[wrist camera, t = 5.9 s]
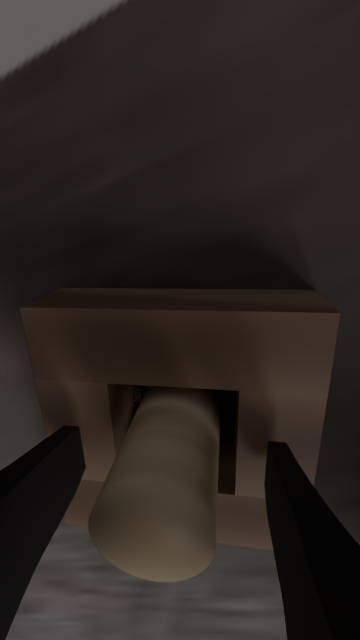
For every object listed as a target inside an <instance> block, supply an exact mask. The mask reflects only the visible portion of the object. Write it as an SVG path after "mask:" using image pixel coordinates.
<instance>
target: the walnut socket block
mask: <svg viewBox="0 0 360 640" xmlns="http://www.w3.org/2000/svg"><path fill="white" fill-rule="evenodd" d="M19 308H20V313H21V317H22V322H23V327H24V331H25V336H26V341H27V346H28V350H29V355H30V360H31V364H32V369H33V374H34V378H35V383H36V388H37V392H38V397H39V402H40V407H41V411H42V416H43V421H44V425H45V430H46V435H47V437H49V436H50V435H51V434H53V433H54V432H56V431H57V430H58V429H60V428H61V427H63V426H64V425H68V426H79V429H80V435H81V441H82V447H83V452H84V458H85V464H86V468H85V471H84V474H83V476H82V479H81V482H80V484H79V486H78V489H77V491H76V494H75V496H74V497H73V499H72V501H71V503H70V505H69V507H68V509H67V511H66V512H65V514H64V519H65V524H68V525H76V526H83V527H88V521H89V516H90V513H91V511H92V508H93V506H94V504H95V502H96V500H97V497H98V495H99V493H100V491H101V488H102V486H103V484H104V482H105V480H106V477H107V475H108V473H109V471H110V469H111V466H112V464H113V462H114V460H115V458H116V455H117V453H118V451H119V449H120V447H121V444H122V442H123V440H124V438H125V435H126V433H127V431H128V429H129V427H130V424H131V422H132V420H133V418H134V416H135V413H136V410H135V400H134V389H133V385H144V386H162V387H180V388H198V389H217V390H235V391H236V400H235V427H234V444H231V443H219V467H218V493H217V520H216V543H217V544H225V545H233V546H240V547H248V548H256V549H264V550H272V551H274V550H273V545H272V540H271V535H270V529H269V524H268V518H267V511H266V500H265V488H264V481H265V469H266V457H267V445H268V441H275V442H286V443H287V444H288V446H289V447H290V449H291V451H292V453H293V455H294V456H295V458H296V460H297V461H298V463H299V465H300V466H301V468H302V469H303V471H304V472H305V474H306V476H307V477H308V479H309V480H310V482H311V483H312V485H313V486H314V482H315V476H316V470H317V463H318V457H319V450H320V444H321V437H322V431H323V424H324V418H325V411H326V405H327V398H328V392H329V385H330V379H331V372H332V366H333V359H334V353H335V346H336V340H337V334H338V327H339V321H340V314H341V313H340V312H339V311H338V310H337V309H336V308H335V307H334V306H332V305H331V304H330V303H329V302H328V301H327V300H326V299H325V298H324V297H323V296H322V295H321V294H320V293H318V292H317V291H316V290H298V289H163V288H59V289H57V290H55V291H53V292H51V293H49V294H47V295H45V296H42V297H40V298H38V299H36V300H34V301H32V302H30V303H28V304H26V305H23V306H21V307H19Z"/></svg>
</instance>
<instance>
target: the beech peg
mask: <svg viewBox="0 0 360 640" xmlns="http://www.w3.org/2000/svg"><path fill="white" fill-rule="evenodd" d="M220 414H221V392H220V390H217V389H198V388H180V387H162V386H148V387H147V389H146V391H145V394H144V396H143V398H142V400H141V402H140V405H139V407H138V409H137V411H136V413H135V416H134V418H133V420H132V422H131V424H130V427H129V429H128V431H127V433H126V435H125V438H124V440H123V442H122V444H121V447H120V449H119V451H118V453H117V455H116V458H115V460H114V462H113V464H112V466H111V469H110V471H109V473H108V475H107V477H106V480H105V482H104V484H103V486H102V488H101V491H100V493H99V495H98V497H97V500H96V502H95V504H94V506H93V508H92V511H91V513H90V516H89V521H88V528H89V533H90V537H91V539H92V541H93V543H94V545H95V547H96V548H97V549H98V551H99V552H100V553H101V554H102V555H103V556H104V558H106V559H107V560H108V561H109V562H110V563H112V564H113V565H114V566H116V567H117V568H119V569H121V570H122V571H124V572H126V573H128V574H131V575H133V576H136V577H139V578H142V579H146V580H151V581H158V582H176V581H182V580H186V579H189V578H192V577H194V576H196V575H198V574H200V573H201V572H202V571H204V570H205V569H206V568H207V567H208V566H209V564H210V563H211V561H212V559H213V557H214V554H215V547H216V520H217V493H218V467H219V440H220Z"/></svg>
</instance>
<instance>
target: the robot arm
mask: <svg viewBox="0 0 360 640" xmlns="http://www.w3.org/2000/svg"><path fill="white" fill-rule="evenodd" d="M85 468H86V464H85V458H84V452H83V447H82V441H81V435H80V429H79V426H68V425H64V426H63V427H61V428H60V429H58V430H57V431H56V432H54V433H53V434H51V435H50V436H49V437H47V438H46V439H45V440H43V441H42V442H40V443H39V444H38V445H36V446H35V447H34V448H32V449H31V450H29V451H28V452H27V453H25V454H24V455H23V456H21V457H20V458H18V459H17V460H16V461H14V462H13V463H11V464H10V465H8V466H7V467H5V468H4V469H2V470H1V471H0V640H5V638H6V636H7V634H8V631H9V629H10V626H11V624H12V622H13V619H14V617H15V614H16V612H17V610H18V607H19V605H20V602H21V600H22V598H23V596H24V593H25V591H26V589H27V587H28V584H29V582H30V580H31V578H32V575H33V573H34V571H35V569H36V567H37V565H38V563H39V561H40V559H41V557H42V555H43V553H44V551H45V549H46V547H47V546H48V544H49V542H50V540H51V538H52V536H53V535H54V533H55V531H56V529H57V527H58V525H59V524H60V522H61V520H62V518H63V516H64V514H65V512H66V511H67V509H68V507H69V505H70V503H71V501H72V499H73V497H74V496H75V494H76V491H77V489H78V486H79V484H80V482H81V479H82V476H83V474H84V471H85ZM264 488H265V500H266V511H267V518H268V524H269V529H270V535H271V540H272V545H273V550H274V556H275V561H276V566H277V571H278V576H279V582H280V587H281V593H282V599H283V606H284V614H285V622H286V631H287V640H360V545H359V544H358V543H357V542H356V541H355V540H354V538H353V537H352V536H351V535H350V534H349V532H348V531H347V530H346V529H345V528H344V526H343V525H342V524H341V523H340V521H339V520H338V519H337V517H336V516H335V515H334V514H333V512H332V511H331V510H330V508H329V507H328V506H327V504H326V503H325V502H324V500H323V499H322V497H321V496H320V495H319V493H318V492H317V490H316V489H315V487H314V486H313V485H312V483H311V482H310V480H309V479H308V477H307V476H306V474H305V472H304V471H303V469H302V468H301V466H300V465H299V463H298V461H297V460H296V458H295V456H294V455H293V453H292V451H291V449H290V447H289V446H288V444H287V443H286V442H275V441H268V445H267V457H266V469H265V481H264Z"/></svg>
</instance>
